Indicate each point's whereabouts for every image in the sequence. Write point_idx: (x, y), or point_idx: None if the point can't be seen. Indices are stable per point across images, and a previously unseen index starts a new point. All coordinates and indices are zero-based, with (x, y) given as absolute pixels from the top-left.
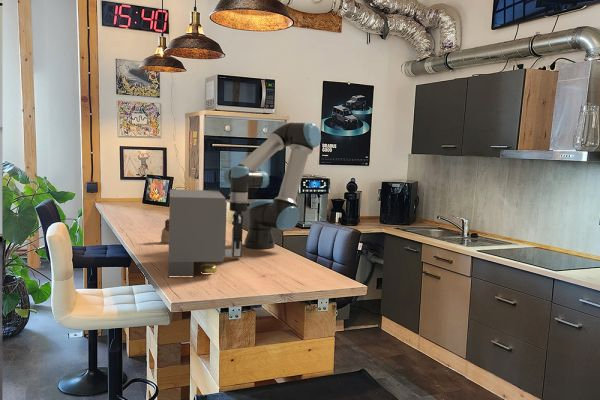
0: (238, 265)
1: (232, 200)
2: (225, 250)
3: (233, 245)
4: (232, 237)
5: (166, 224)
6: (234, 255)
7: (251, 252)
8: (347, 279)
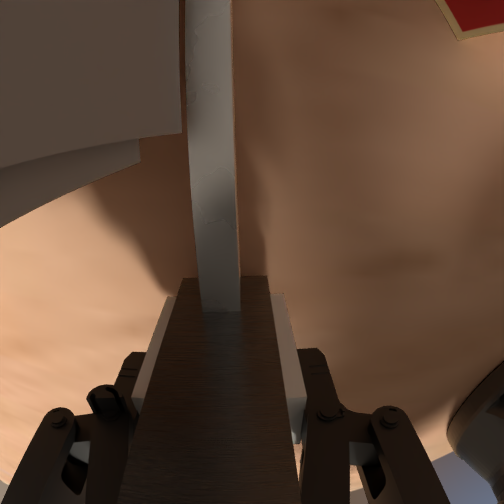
0: (49, 292)
1: None
2: (197, 239)
3: (162, 352)
4: (215, 415)
5: None
6: (166, 303)
7: (410, 386)
8: None
